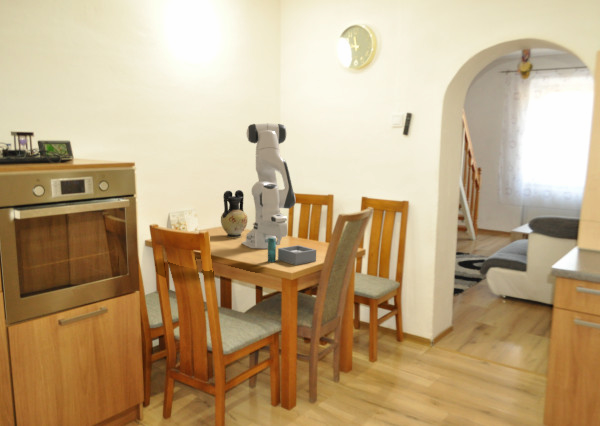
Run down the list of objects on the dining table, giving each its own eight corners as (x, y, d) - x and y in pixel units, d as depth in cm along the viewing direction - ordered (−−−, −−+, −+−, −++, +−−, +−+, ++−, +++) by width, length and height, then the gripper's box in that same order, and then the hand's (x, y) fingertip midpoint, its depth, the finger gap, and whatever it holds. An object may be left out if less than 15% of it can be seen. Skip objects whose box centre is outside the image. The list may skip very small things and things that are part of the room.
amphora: (233, 233, 313) (233, 188, 309) (252, 236, 304) (253, 190, 300) (214, 236, 299) (214, 190, 295) (234, 240, 289) (235, 192, 285)
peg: (266, 261, 239) (266, 238, 237) (272, 260, 242) (272, 237, 240) (270, 262, 236) (271, 239, 234) (277, 261, 239) (277, 238, 237)
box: (277, 259, 243) (278, 248, 242) (298, 256, 252) (298, 245, 251) (295, 265, 232) (295, 253, 232) (315, 261, 242) (316, 249, 241)
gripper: (254, 215, 241) (255, 241, 243) (278, 219, 226) (279, 247, 227) (263, 214, 245) (264, 240, 247) (288, 217, 230) (289, 245, 232)
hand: (272, 243), depth 237 cm, fingers open, 8 cm apart
